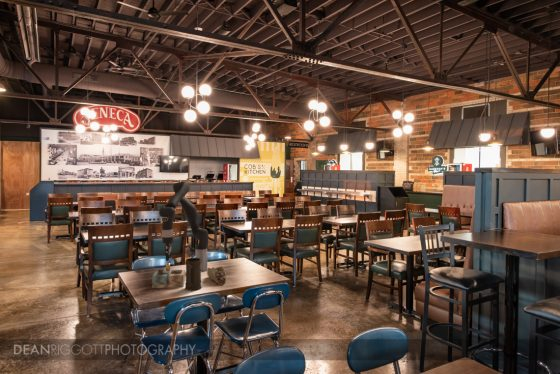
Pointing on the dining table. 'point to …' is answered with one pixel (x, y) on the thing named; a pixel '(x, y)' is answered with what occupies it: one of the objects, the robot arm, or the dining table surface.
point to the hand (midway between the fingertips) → (168, 259)
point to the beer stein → (193, 274)
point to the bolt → (166, 268)
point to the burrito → (217, 275)
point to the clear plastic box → (168, 279)
